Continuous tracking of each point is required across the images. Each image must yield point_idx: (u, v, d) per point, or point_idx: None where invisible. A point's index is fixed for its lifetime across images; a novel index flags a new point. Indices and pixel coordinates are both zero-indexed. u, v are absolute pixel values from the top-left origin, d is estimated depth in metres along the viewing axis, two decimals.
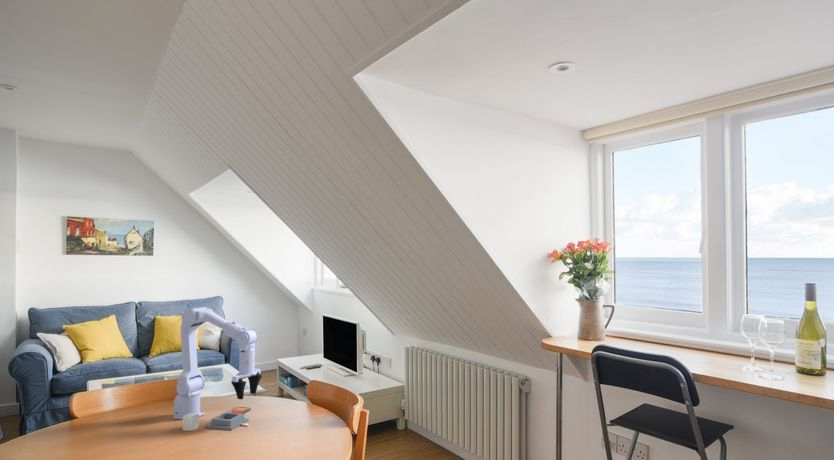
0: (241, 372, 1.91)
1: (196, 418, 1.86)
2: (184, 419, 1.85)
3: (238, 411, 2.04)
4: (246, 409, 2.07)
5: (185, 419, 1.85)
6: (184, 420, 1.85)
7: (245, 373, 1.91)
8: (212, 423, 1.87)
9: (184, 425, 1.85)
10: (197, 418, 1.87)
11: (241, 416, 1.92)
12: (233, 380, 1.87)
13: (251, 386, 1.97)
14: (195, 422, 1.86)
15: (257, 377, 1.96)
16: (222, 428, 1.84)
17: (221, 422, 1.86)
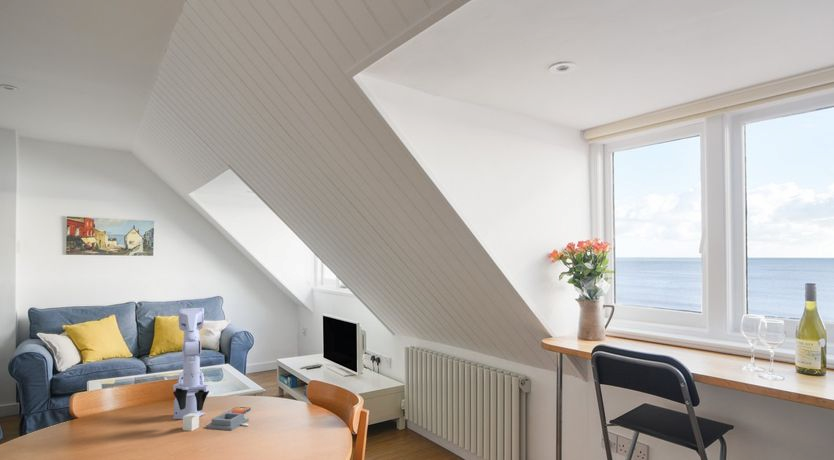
0: None
1: (196, 418, 1.86)
2: (184, 419, 1.85)
3: (238, 411, 2.04)
4: (246, 409, 2.06)
5: (185, 419, 1.85)
6: (184, 420, 1.85)
7: None
8: (212, 423, 1.87)
9: (184, 425, 1.85)
10: (197, 418, 1.87)
11: (241, 416, 1.92)
12: None
13: None
14: (195, 422, 1.86)
15: None
16: (222, 428, 1.84)
17: (221, 422, 1.86)
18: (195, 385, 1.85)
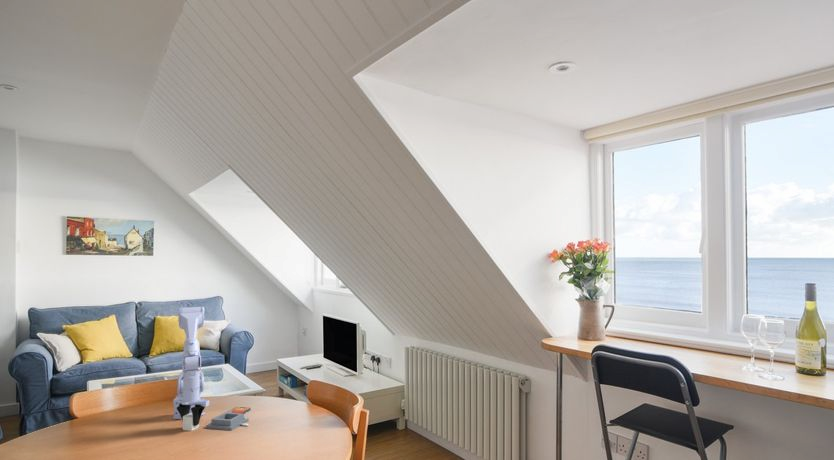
0: None
1: None
2: (184, 419, 1.85)
3: (238, 411, 2.04)
4: (246, 409, 2.06)
5: (185, 419, 1.85)
6: (184, 420, 1.85)
7: None
8: (212, 423, 1.87)
9: (184, 425, 1.85)
10: None
11: (241, 416, 1.92)
12: None
13: None
14: None
15: None
16: (222, 428, 1.84)
17: (221, 422, 1.86)
18: (195, 400, 1.85)
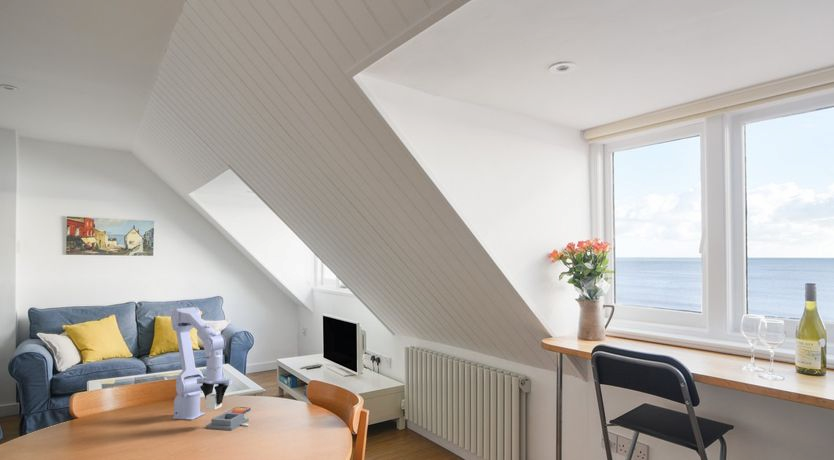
0: None
1: None
2: (207, 398, 1.87)
3: (238, 411, 2.04)
4: (246, 409, 2.06)
5: (208, 398, 1.87)
6: (207, 399, 1.87)
7: None
8: (212, 423, 1.87)
9: (207, 404, 1.87)
10: None
11: (241, 416, 1.92)
12: None
13: None
14: None
15: None
16: (222, 428, 1.84)
17: (221, 422, 1.86)
18: (218, 379, 1.88)
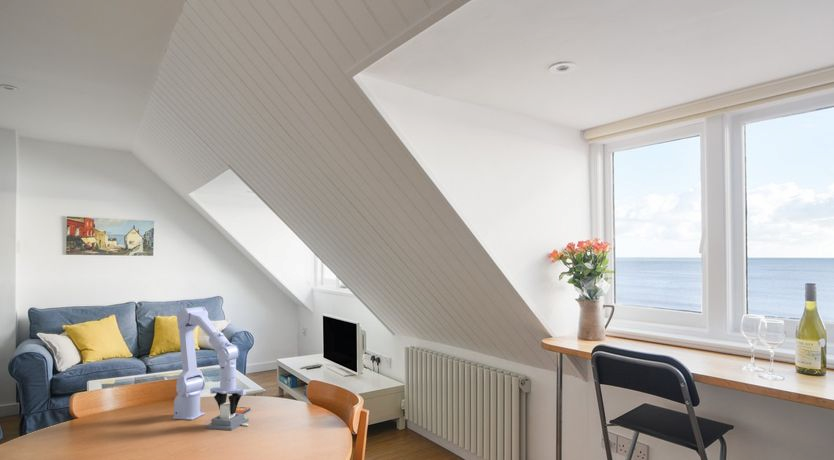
0: None
1: None
2: (221, 408, 1.89)
3: (238, 411, 2.04)
4: (246, 409, 2.06)
5: (222, 408, 1.89)
6: (221, 409, 1.89)
7: None
8: (212, 423, 1.87)
9: (221, 414, 1.89)
10: None
11: (241, 416, 1.92)
12: None
13: None
14: None
15: None
16: (222, 428, 1.84)
17: (221, 422, 1.86)
18: (232, 389, 1.89)
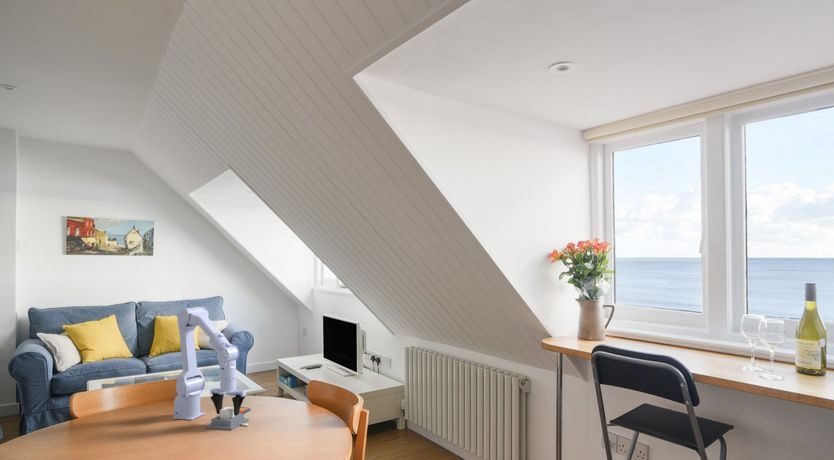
0: None
1: (233, 412, 1.90)
2: (221, 412, 1.89)
3: None
4: (246, 409, 2.06)
5: (222, 412, 1.89)
6: (221, 413, 1.89)
7: None
8: (212, 423, 1.87)
9: (221, 418, 1.89)
10: (233, 411, 1.91)
11: (241, 416, 1.92)
12: None
13: None
14: (232, 416, 1.90)
15: None
16: (222, 428, 1.84)
17: (221, 422, 1.86)
18: (232, 390, 1.89)
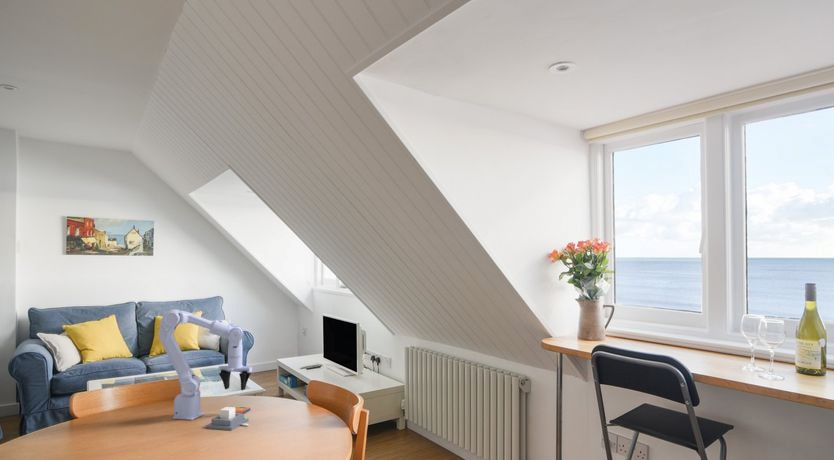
0: None
1: (233, 412, 1.90)
2: (221, 412, 1.89)
3: (238, 411, 2.04)
4: (246, 409, 2.06)
5: (222, 412, 1.89)
6: (221, 413, 1.89)
7: (227, 366, 2.05)
8: (212, 423, 1.87)
9: (221, 418, 1.89)
10: (233, 411, 1.91)
11: (241, 416, 1.92)
12: None
13: None
14: (232, 416, 1.90)
15: None
16: (222, 428, 1.84)
17: (221, 422, 1.86)
18: (239, 367, 2.05)
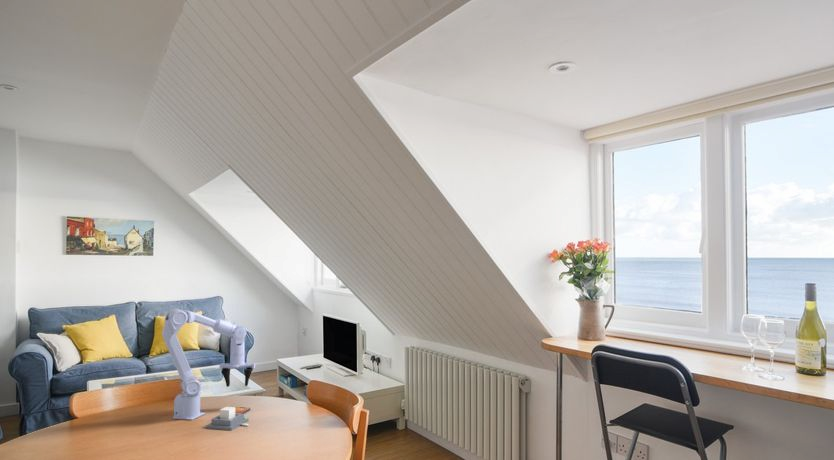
0: None
1: (233, 412, 1.90)
2: (221, 412, 1.89)
3: (238, 411, 2.04)
4: (246, 409, 2.06)
5: (222, 412, 1.89)
6: (221, 413, 1.89)
7: (230, 364, 2.10)
8: (212, 423, 1.87)
9: (221, 418, 1.89)
10: (233, 411, 1.91)
11: (241, 416, 1.92)
12: None
13: None
14: (232, 416, 1.90)
15: None
16: (222, 428, 1.84)
17: (221, 422, 1.86)
18: (243, 363, 2.11)
